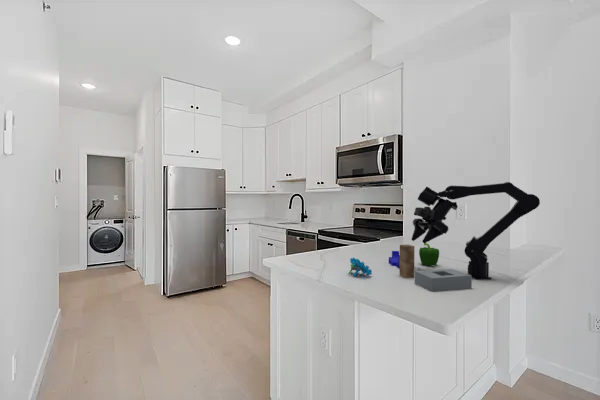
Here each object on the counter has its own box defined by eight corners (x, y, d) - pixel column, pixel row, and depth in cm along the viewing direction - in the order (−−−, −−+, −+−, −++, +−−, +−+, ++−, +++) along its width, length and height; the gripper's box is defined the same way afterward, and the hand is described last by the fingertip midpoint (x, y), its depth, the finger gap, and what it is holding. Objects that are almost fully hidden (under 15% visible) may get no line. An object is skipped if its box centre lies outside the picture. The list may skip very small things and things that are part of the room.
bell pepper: (442, 266, 135) (443, 245, 135) (426, 267, 134) (426, 245, 134) (431, 262, 144) (432, 242, 144) (416, 263, 142) (416, 242, 142)
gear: (377, 273, 117) (360, 256, 115) (369, 285, 115) (352, 268, 113) (361, 271, 127) (346, 255, 125) (354, 282, 125) (338, 266, 123)
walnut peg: (408, 275, 121) (408, 244, 121) (414, 277, 117) (414, 246, 117) (399, 275, 120) (399, 244, 120) (405, 278, 116) (405, 246, 116)
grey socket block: (451, 280, 113) (451, 269, 113) (471, 288, 104) (471, 275, 104) (414, 283, 109) (414, 271, 109) (432, 291, 100) (432, 278, 100)
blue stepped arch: (388, 263, 143) (388, 250, 143) (398, 263, 143) (398, 250, 143) (396, 269, 131) (396, 255, 131) (406, 269, 131) (406, 255, 131)
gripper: (414, 200, 133) (393, 228, 132) (437, 199, 114) (413, 231, 113) (432, 216, 134) (412, 243, 132) (458, 216, 115) (435, 248, 114)
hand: (417, 241), depth 123 cm, fingers open, 9 cm apart
